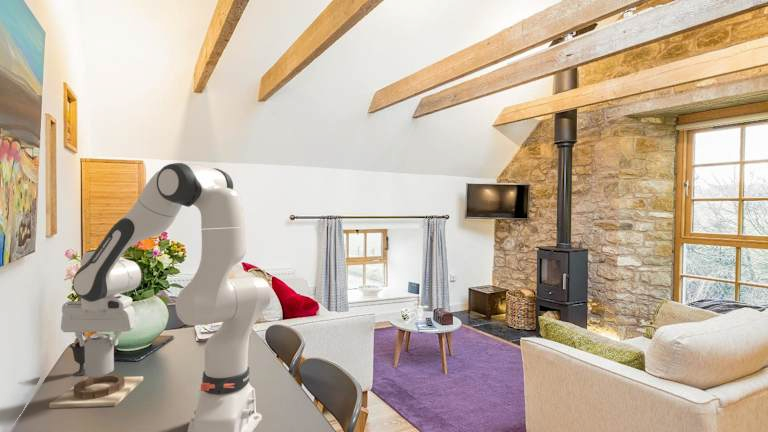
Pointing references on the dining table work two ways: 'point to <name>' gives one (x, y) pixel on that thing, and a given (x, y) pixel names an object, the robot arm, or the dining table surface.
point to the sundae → (79, 356)
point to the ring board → (97, 401)
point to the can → (99, 355)
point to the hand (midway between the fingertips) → (99, 345)
